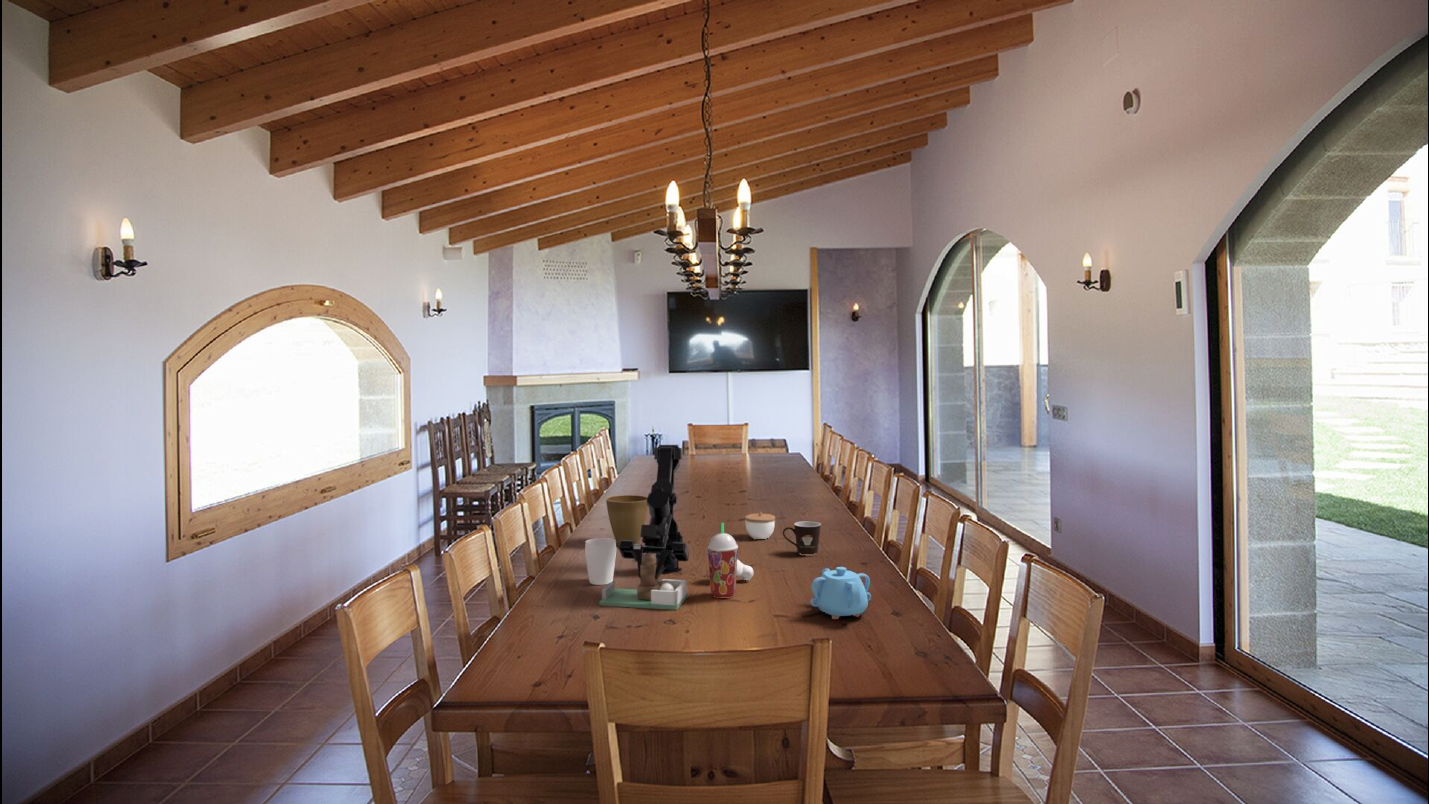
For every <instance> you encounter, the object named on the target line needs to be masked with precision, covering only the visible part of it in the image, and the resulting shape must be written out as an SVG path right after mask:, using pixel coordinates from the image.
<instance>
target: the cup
mask: <svg viewBox="0 0 1429 804" xmlns="http://www.w3.org/2000/svg"><path fill="white" fill-rule="evenodd" d="M584 545H585V546H584V555H585V561H586V568H587V574H588V580H589V584H590V585H591V584H592V585H595V586H603V585H609V584H610V583H611V582H614V581H613V580H614V573H615V564H616V558H617V557H616V555H617V542H616V540H615V538H611V537H593V538H589V539H587V540H585V544H584Z"/></svg>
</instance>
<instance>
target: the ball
mask: <svg viewBox="0 0 1429 804" xmlns="http://www.w3.org/2000/svg"><path fill="white" fill-rule="evenodd" d="M659 590H666V591H674V588H673V586H672V585H671V584H669V583H665V584H662V585H661V586H660V588H659Z"/></svg>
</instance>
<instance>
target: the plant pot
mask: <svg viewBox="0 0 1429 804" xmlns="http://www.w3.org/2000/svg"><path fill="white" fill-rule="evenodd" d="M647 498H648V496H644V495H636V494H634V495H633V494H632V495H630V494H624V495H614V496H609V497H606V498H605V501H606V509H607V515H608V520H609V525H610V528H611V531H612V535H613V537H614V539H615V540H616V545H618V546H619V543H620V541H622V540H634V541H635V543H636V544H640V539H641V537H640V534H641V525H646V524H645V522H646V519H647V513H648V511H649V507H648V506H647Z"/></svg>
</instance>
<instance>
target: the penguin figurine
mask: <svg viewBox="0 0 1429 804" xmlns="http://www.w3.org/2000/svg"><path fill="white" fill-rule="evenodd" d="M737 577H741V578H742V579H743V581H744V580H749V581H750V580H751V578H752V577H754V569H753V568H752V566H750V565H747V564H744V563H742V562H741V561H740V560H739V559H738V558H737V572H736V578H737Z"/></svg>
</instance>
